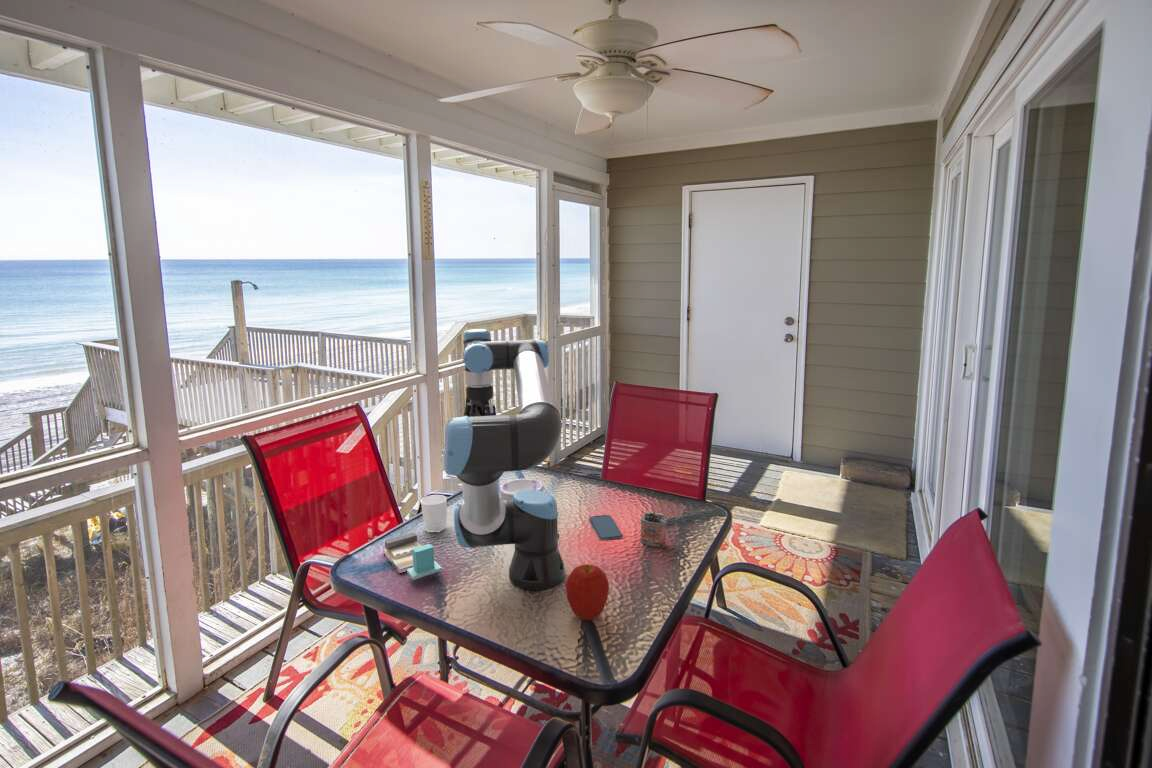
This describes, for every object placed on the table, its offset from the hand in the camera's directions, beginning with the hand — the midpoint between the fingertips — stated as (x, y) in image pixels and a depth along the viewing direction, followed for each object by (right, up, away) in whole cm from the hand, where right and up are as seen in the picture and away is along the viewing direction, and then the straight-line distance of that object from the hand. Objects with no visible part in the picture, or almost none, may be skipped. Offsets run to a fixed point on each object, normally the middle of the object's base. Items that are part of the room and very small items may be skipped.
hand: (482, 456), depth 169 cm
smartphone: (+36, -26, +18) cm, 48 cm away
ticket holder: (-21, -29, 0) cm, 36 cm away
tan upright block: (+50, -27, +8) cm, 58 cm away
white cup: (-18, -26, +20) cm, 37 cm away
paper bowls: (+8, -22, +36) cm, 43 cm away
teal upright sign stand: (-14, -30, -10) cm, 34 cm away
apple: (+30, -35, -28) cm, 54 cm away
